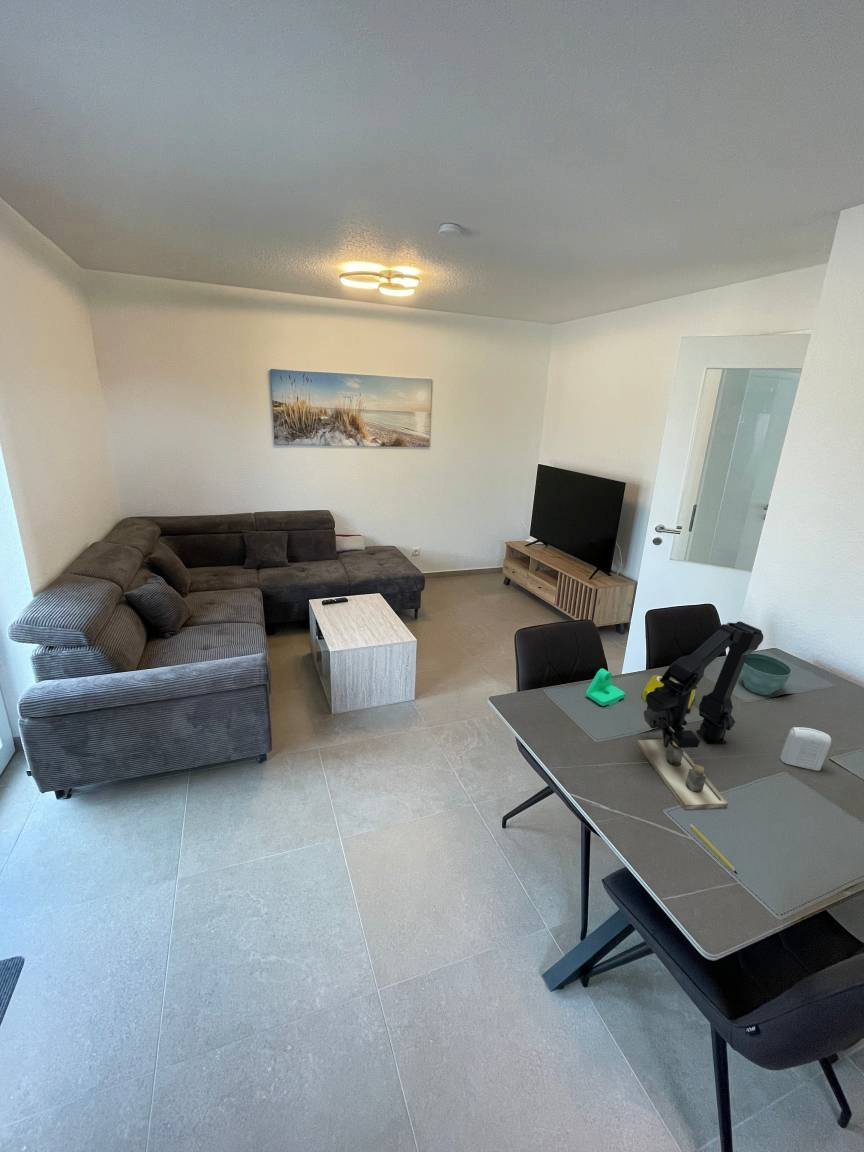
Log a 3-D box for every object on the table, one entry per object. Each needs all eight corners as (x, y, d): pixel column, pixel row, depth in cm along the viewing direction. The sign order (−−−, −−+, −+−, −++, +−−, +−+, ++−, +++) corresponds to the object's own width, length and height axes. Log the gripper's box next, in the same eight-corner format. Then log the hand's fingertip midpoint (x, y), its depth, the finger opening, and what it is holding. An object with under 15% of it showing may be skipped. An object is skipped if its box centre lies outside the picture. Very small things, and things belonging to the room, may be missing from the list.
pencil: (735, 875, 113) (736, 872, 113) (688, 827, 126) (689, 824, 126) (738, 874, 114) (739, 871, 113) (691, 826, 126) (692, 823, 126)
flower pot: (793, 702, 181) (802, 676, 178) (749, 700, 181) (757, 674, 178) (766, 678, 197) (773, 654, 193) (725, 676, 197) (732, 652, 193)
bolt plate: (673, 742, 157) (678, 721, 154) (726, 807, 132) (734, 783, 129) (636, 744, 155) (641, 722, 152) (684, 809, 131) (691, 785, 128)
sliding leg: (674, 756, 148) (679, 737, 146) (680, 763, 145) (685, 744, 143) (665, 756, 148) (670, 738, 145) (670, 763, 145) (675, 744, 143)
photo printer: (816, 763, 150) (829, 729, 146) (822, 773, 147) (836, 738, 142) (777, 755, 153) (789, 721, 149) (782, 764, 149) (794, 730, 145)
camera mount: (602, 709, 172) (607, 683, 169) (585, 697, 179) (589, 672, 175) (625, 699, 179) (630, 674, 175) (607, 689, 185) (612, 664, 181)
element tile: (640, 700, 179) (643, 689, 177) (651, 683, 190) (654, 672, 189) (685, 717, 171) (689, 705, 169) (694, 697, 182) (697, 686, 180)
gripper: (635, 685, 152) (626, 727, 158) (668, 723, 135) (656, 769, 140) (669, 684, 154) (659, 727, 159) (706, 722, 136) (693, 768, 142)
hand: (666, 746), depth 150 cm, fingers closed
